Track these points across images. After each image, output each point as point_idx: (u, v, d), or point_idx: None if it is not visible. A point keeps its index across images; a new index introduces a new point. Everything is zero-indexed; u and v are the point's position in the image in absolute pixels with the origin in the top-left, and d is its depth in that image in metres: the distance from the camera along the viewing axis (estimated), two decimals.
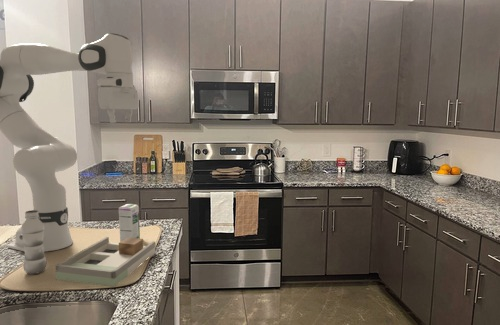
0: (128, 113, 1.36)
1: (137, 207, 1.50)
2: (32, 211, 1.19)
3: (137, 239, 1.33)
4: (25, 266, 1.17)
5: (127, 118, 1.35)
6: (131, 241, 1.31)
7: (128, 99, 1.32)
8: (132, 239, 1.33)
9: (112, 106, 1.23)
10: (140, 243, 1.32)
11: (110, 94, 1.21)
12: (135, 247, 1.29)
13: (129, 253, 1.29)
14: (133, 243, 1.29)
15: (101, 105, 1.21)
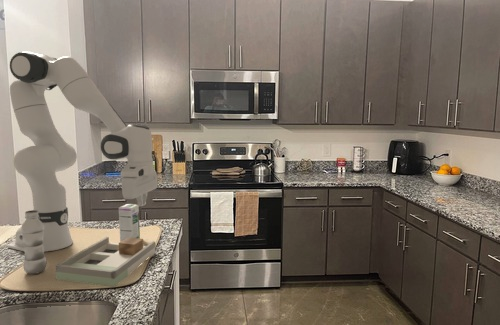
0: (143, 196, 1.39)
1: (137, 207, 1.50)
2: (32, 211, 1.19)
3: (137, 239, 1.33)
4: (25, 266, 1.17)
5: None
6: (131, 241, 1.31)
7: (149, 182, 1.39)
8: (132, 239, 1.33)
9: (135, 195, 1.29)
10: (140, 243, 1.32)
11: (133, 186, 1.27)
12: (135, 247, 1.29)
13: (129, 253, 1.29)
14: (133, 243, 1.29)
15: (125, 196, 1.27)
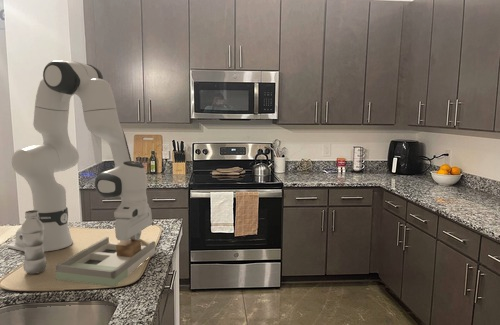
0: (137, 234, 1.36)
1: None
2: (32, 211, 1.19)
3: (135, 241, 1.31)
4: (25, 266, 1.17)
5: None
6: (129, 243, 1.29)
7: (143, 220, 1.36)
8: (130, 241, 1.31)
9: (129, 237, 1.26)
10: (138, 245, 1.30)
11: (127, 227, 1.24)
12: (133, 249, 1.27)
13: (127, 255, 1.27)
14: (131, 245, 1.27)
15: (118, 237, 1.24)
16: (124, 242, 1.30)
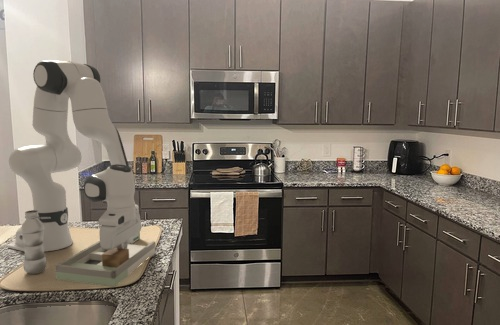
0: (124, 242, 1.27)
1: (137, 207, 1.50)
2: (32, 211, 1.19)
3: (122, 249, 1.23)
4: (25, 266, 1.17)
5: None
6: (116, 252, 1.21)
7: (131, 227, 1.28)
8: (117, 249, 1.23)
9: (114, 245, 1.18)
10: (125, 254, 1.22)
11: (112, 236, 1.16)
12: (120, 258, 1.19)
13: (113, 265, 1.19)
14: (118, 254, 1.19)
15: (103, 246, 1.16)
16: (111, 251, 1.21)
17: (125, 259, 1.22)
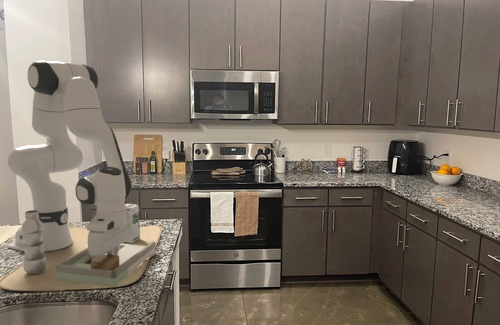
0: (115, 248, 1.22)
1: (137, 207, 1.50)
2: (32, 211, 1.19)
3: (112, 256, 1.17)
4: (25, 266, 1.17)
5: None
6: (105, 259, 1.15)
7: (121, 233, 1.22)
8: (106, 256, 1.17)
9: (103, 252, 1.12)
10: (115, 261, 1.16)
11: (101, 242, 1.10)
12: (109, 266, 1.13)
13: None
14: (107, 261, 1.13)
15: (91, 253, 1.10)
16: (100, 258, 1.16)
17: (115, 266, 1.16)
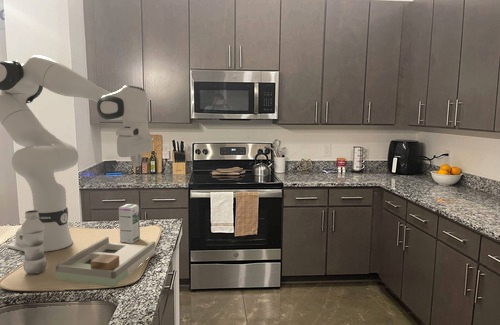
0: (138, 157, 1.42)
1: (137, 207, 1.50)
2: (32, 211, 1.19)
3: (112, 256, 1.17)
4: (25, 266, 1.17)
5: None
6: (105, 259, 1.15)
7: (143, 144, 1.42)
8: (106, 256, 1.17)
9: (130, 154, 1.32)
10: (115, 261, 1.16)
11: (128, 144, 1.30)
12: (109, 266, 1.13)
13: None
14: (107, 261, 1.13)
15: (119, 153, 1.31)
16: (100, 258, 1.16)
17: (115, 266, 1.16)
